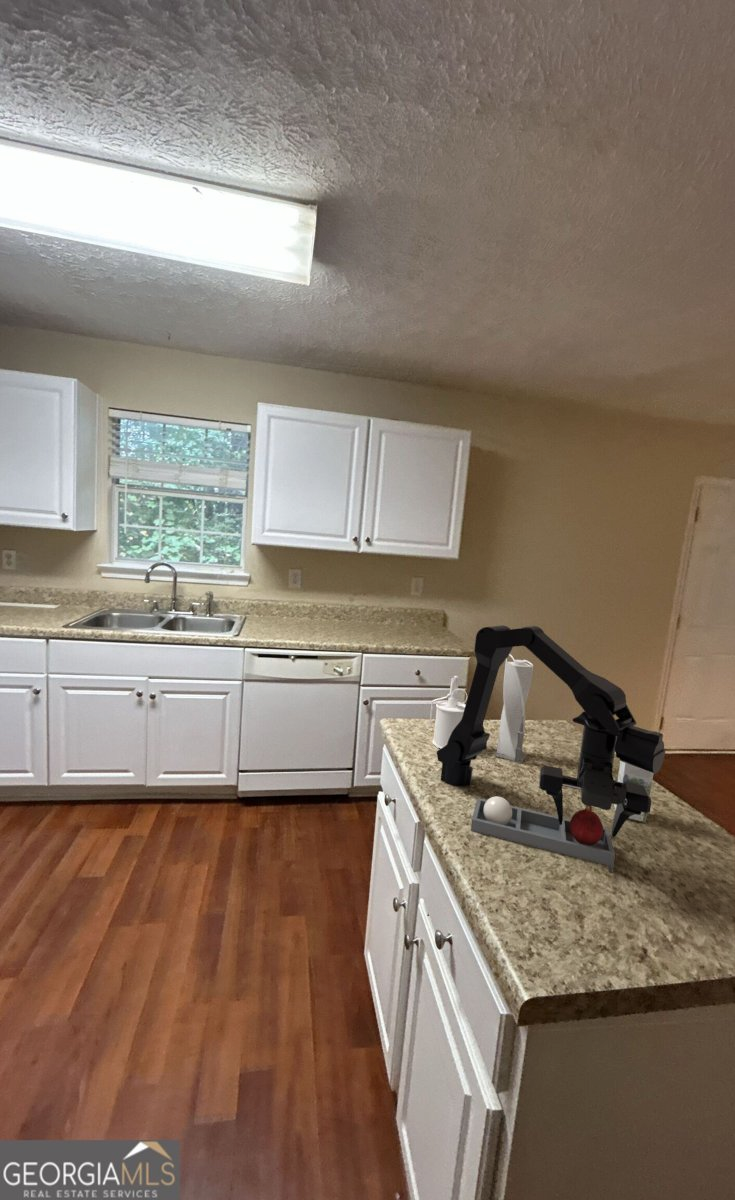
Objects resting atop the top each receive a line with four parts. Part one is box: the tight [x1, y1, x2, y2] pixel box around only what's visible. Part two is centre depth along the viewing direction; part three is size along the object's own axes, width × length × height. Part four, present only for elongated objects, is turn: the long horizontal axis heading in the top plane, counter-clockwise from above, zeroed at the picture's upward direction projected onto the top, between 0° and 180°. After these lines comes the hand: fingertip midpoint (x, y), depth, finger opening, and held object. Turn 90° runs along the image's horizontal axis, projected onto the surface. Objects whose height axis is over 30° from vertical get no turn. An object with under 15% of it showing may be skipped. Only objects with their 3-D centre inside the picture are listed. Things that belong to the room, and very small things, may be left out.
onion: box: [570, 805, 604, 846], centre depth 95 cm, size 6×6×8 cm
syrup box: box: [613, 760, 655, 823], centre depth 110 cm, size 6×6×14 cm
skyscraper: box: [494, 653, 534, 765], centre depth 137 cm, size 8×8×28 cm
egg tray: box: [470, 797, 616, 874], centre depth 98 cm, size 25×9×4 cm, turn 71°
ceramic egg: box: [483, 795, 512, 825], centre depth 101 cm, size 6×6×6 cm
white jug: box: [429, 675, 468, 750], centre depth 141 cm, size 10×9×20 cm
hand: (586, 829), depth 95 cm, fingers open, 9 cm apart
